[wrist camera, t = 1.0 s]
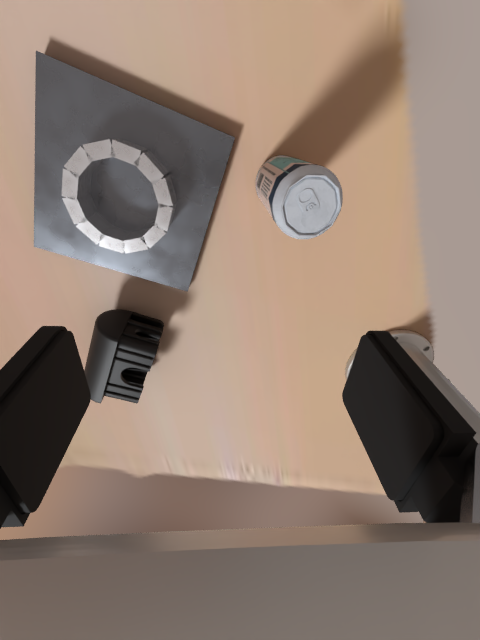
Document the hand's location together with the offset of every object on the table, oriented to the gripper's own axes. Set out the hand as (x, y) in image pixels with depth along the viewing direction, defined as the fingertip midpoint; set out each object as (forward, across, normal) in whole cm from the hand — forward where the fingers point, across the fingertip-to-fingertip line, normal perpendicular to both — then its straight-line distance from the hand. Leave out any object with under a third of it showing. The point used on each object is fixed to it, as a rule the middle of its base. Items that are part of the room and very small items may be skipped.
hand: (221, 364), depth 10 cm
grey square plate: (+24, +9, -1) cm, 26 cm away
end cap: (+24, +12, +17) cm, 32 cm away
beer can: (+24, -6, -3) cm, 25 cm away
